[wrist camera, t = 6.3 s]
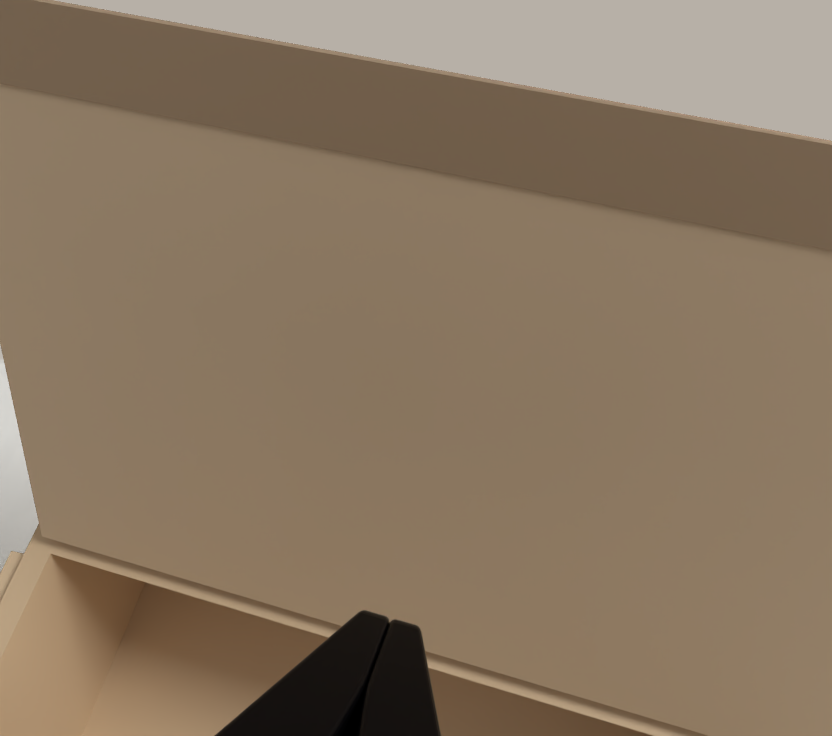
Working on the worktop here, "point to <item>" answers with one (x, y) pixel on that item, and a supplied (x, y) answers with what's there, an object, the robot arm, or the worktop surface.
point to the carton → (209, 659)
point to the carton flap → (429, 356)
